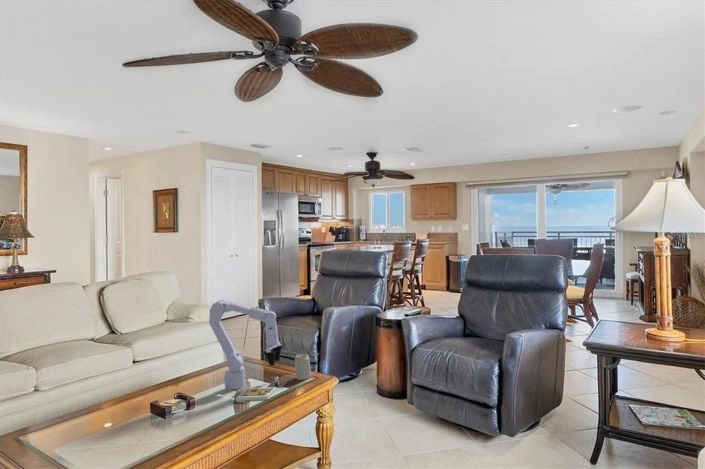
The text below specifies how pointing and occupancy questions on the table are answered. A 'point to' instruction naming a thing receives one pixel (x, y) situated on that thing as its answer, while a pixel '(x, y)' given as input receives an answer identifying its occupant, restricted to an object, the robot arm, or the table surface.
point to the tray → (242, 398)
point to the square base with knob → (277, 383)
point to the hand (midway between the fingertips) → (274, 363)
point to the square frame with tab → (256, 392)
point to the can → (302, 367)
